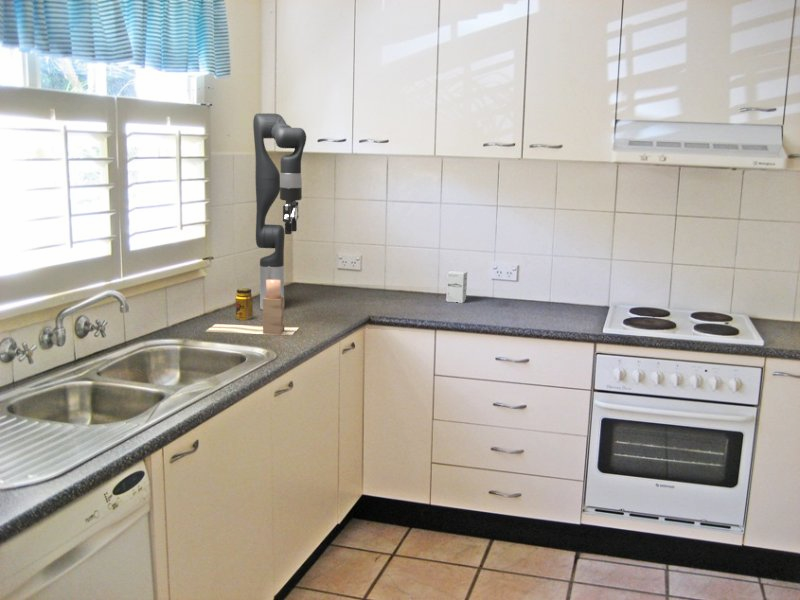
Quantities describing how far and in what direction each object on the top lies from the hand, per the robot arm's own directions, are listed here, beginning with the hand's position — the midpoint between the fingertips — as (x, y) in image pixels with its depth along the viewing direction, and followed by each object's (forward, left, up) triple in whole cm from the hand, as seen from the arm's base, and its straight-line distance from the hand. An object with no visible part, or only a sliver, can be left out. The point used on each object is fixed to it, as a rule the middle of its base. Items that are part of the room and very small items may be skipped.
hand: (290, 232), depth 296 cm
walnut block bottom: (+14, -3, -33) cm, 36 cm away
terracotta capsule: (+14, -3, -21) cm, 25 cm away
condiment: (-6, -18, -34) cm, 39 cm away
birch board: (+11, -11, -34) cm, 37 cm away
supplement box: (-62, +58, -34) cm, 92 cm away
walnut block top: (+14, -3, -27) cm, 30 cm away
